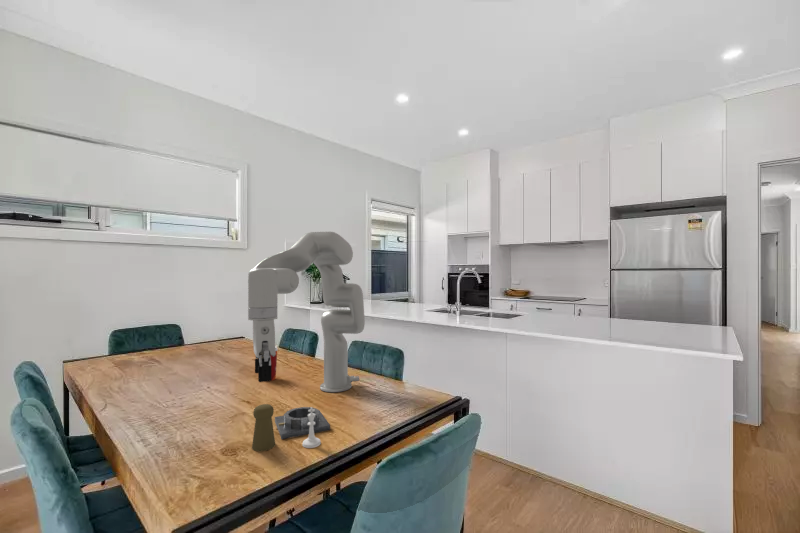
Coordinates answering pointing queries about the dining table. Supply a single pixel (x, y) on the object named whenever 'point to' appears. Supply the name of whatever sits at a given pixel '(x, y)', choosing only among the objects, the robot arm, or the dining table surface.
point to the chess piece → (311, 433)
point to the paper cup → (274, 364)
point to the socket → (300, 422)
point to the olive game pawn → (263, 428)
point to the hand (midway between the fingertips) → (262, 376)
